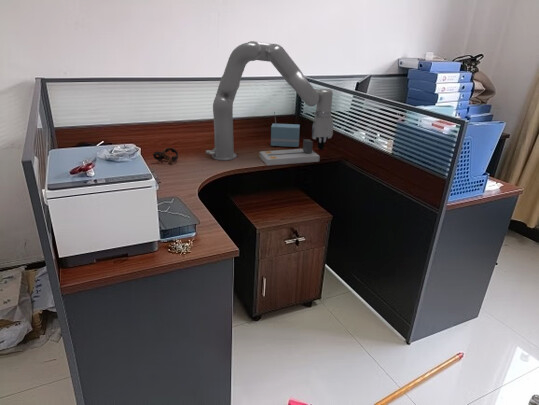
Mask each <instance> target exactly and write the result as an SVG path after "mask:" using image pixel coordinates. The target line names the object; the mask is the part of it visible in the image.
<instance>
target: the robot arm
mask: <svg viewBox="0 0 539 405" xmlns="http://www.w3.org/2000/svg"><path fill="white" fill-rule="evenodd" d="M254 61H260V62H270V63H271V64H272V65H273V67H274V68H275V69H276V70H277V71H278V73H279V74H280V76H281V77H282V78H283V79H284V80H285V82H286V83H287V85H289V86H290V87H292V89H293V90H294V91H295V93H296V94H297V95H298V96H299V97H300V99H301V100H302V102H304V104H305V105H306V106H308V107H316V109H315V110H316V111H315V112H313V116H314V119H313V121H312V122H313V123H312V127H311V128H312V129H311V139H313V140H316V141H317V148H318V150H319V151H324V148H325V144H326V141H327V140H329V139H332V137H333V134H334V123H333V122H334V121H333V117H332V105H333V96H334V95H333V90H332V89H328V88H321V89H320V88H319V89H318V88H314V87H313V85H312V84H311V83H310V82H309V80H308V79H307V78H306V76H305V75H304V74H303V72H302V70H301V69H300V67H299V66H298V65H297V64H296V63H295V61H294V60H293V58H291V56H290V55H289V54H288V52H287V51H286V50H285V49H284V47H283V46H282V45H280V44H277V43H270V42H269V43H268V42H261V41H254V40H253V41H252V40H251V41H248V42H245V43H244V42H243V43H241V44H239V45H238V46H236V47H235V48H234V49H233V50H232V52H231V53H230V55H229V57H228V60H227V63H226V66H225V68H224V71H223V74H222V76H221V78H220V82H219V84H218V86H217V87H218V88H217V91H216V93H215V97H214V100H213V103H212V113H213V114H212V115H213V130H214V131H213V132H214V135H213V136H214V147H213V149H211V150H210V149H209V150H207V149H206V150H205V154H206V155H209V156H211V155H212V159H213V160H216V161H232V160H234V159H237V154H236V153H235V152H234V121H233V120H234V119H233V118H234V116H233V115H234V113H233V111H234V110H233V109H234V101H235V98H236V95H237V92H238V90H239V88H240V85H241V84H240V83H241V81H242V76H243V74H244V72H245V68H246V67H247V64H248V63H249V62H254Z"/></svg>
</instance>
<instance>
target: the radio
mask: <svg viewBox="0 0 539 405" xmlns="http://www.w3.org/2000/svg"><path fill="white" fill-rule="evenodd" d="M274 115H276V112H275V111H274ZM274 122H275V123H271V124H272V125H271V127H270V128H271V129H270V146H273V147H274V148H275V146H276V147H289V148H292V147H293V149H296V148H299V145H300V130H301V129H300V127H301V124H293V123H277V119H276V117H274Z"/></svg>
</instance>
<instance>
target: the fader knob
mask: <svg viewBox="0 0 539 405" xmlns="http://www.w3.org/2000/svg"><path fill="white" fill-rule="evenodd" d="M313 143H314V141H313V140H311V139H309V138H308V139H304V138H303V143H302V145H303V146H302V149H303V151H304V152H305V153H312V150H313V146H314V144H313Z"/></svg>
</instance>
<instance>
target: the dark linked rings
mask: <svg viewBox="0 0 539 405" xmlns="http://www.w3.org/2000/svg"><path fill="white" fill-rule="evenodd" d="M170 151H171V152H172V153H174V154H175V155H173V156H171V157H170V155H169V154H167V153H168V152H170ZM152 156H153V158H154V159H155V160H157V162H159V163H161V161H162V160H168V161H167V165H170V166H171V165H172V164H173V163H175V162H177V161H178V159H179V152H178V151H177V150H176V149H175V148H173V147H165V148H163V150H161V151H155V152H154V153H153V154H152Z"/></svg>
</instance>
